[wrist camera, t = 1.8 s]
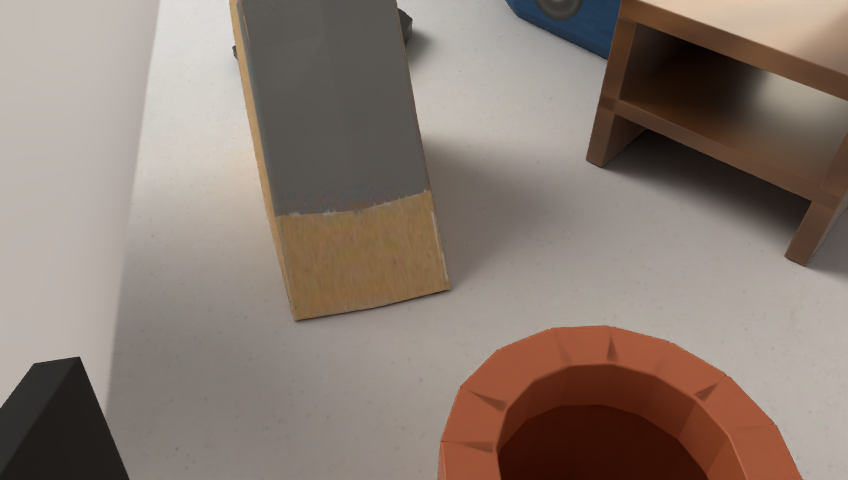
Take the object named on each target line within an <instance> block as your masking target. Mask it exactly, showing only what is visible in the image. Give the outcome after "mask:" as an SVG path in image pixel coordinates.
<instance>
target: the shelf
mask: <svg viewBox="0 0 848 480" xmlns="http://www.w3.org/2000/svg"><path fill="white" fill-rule="evenodd" d="M646 128H648V129H650V130H653V131H655V132H657V133H659V134H662V135H664V136H666V137H668V138H671V139H673V140H675V141H677V142H680V143H682V144H684V145H686V146H689V147H691V148H693V149H695V150H698V151H700V152H702V153H704V154H707V155H709V156H711V157H713V158H716V159H718V160H720V161H722V162H725V163H727V164H729V165H731V166H734V167H736V168H738V169H740V170H743V171H745V172H747V173H749V174H752V175H754V176H756V177H758V178H761V179H763V180H765V181H767V182H770V183H772V184H774V185H776V186H779V187H781V188H783V189H785V190H788V191H790V192H792V193H794V194H797V195H799V196H801V197H803V198H806V199H808V200H810V201H812V202H811V204H810V206H809V208H808V210H807V212H806V214H805V216H804V218H803V220H802V222H801V224H800V226H799V228H798V230H797V232H796V234H795V236H794V238H793V240H792V242H791V244H790V246H789V248H788V250H787V252H786V253H785V257H786V258H788V259H790V260H792V261H794V262H797V263H799V264H801V265H803V266H806V265H807V264H808V262H809V261H810V259H811V258H812V256H813V255H814V254H815V252H816V251H817V249H818V248H819V246H820V245H821V243H822V242H823V241H824V239H825V238H826V236H827V235H828V233H829V232H830V230H831V229H832V227H833V226H834V225H835V223H836V222H837V220H838V219H839V217H840V216H841V214H842V213H843V212H844V210H845V209H846V207H847V206H848V0H621V4H620V9H619V13H618V18H617V22H616V27H615V31H614V36H613V40H612V44H611V49H610V53H609V58H608V62H607V67H606V71H605V76H604V80H603V85H602V89H601V94H600V98H599V103H598V107H597V112H596V116H595V121H594V125H593V129H592V134H591V138H590V143H589V147H588V152H587V156H586V160H587V161H589V162H591V163H593V164H595V165H597V166H599V167H603V166H604V165H605V164H606V163H607V162H609V161H610V160H611V159H612V158H613V157H614V156H615V155H617V154H618V153H619V152H620V151H621V150H622V149H623V148H625V147H626V146H627V145H628V144H629V143H630V142H631V141H633V140H634V139H635V138H636V137H637V136H638V135H639V134H640V133H642V132H643V131H644V130H645V129H646Z"/></svg>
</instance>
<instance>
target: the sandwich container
mask: <svg viewBox="0 0 848 480" xmlns="http://www.w3.org/2000/svg"><path fill="white" fill-rule="evenodd" d="M229 4H230V11H231V18H232V26H233V33H234V39H235V45H236V51H237V57H238V63H239V69H240V75H241V81H242V87H243V92H244V98H245V104H246V109H247V114H248V119H249V124H250V129H251V134H252V140H253V145H254V150H255V155H256V160H257V165H258V170H259V175H260V181H261V186H262V191H263V196H264V201H265V207H266V210H267V214H268V218H269V222H270V226H271V230H272V234H273V238H274V242H275V246H276V250H277V254H278V258H279V262H280V266H281V270H282V274H283V278H284V282H285V286H286V290H287V294H288V298H289V302H290V306H291V310H292V313H293V317H294V321H297V320H301V319H307V318H313V317H319V316H325V315H331V314H337V313H344V312H350V311H356V310H362V309H368V308H374V307H379V306H383V305H387V304H391V303H395V302H399V301H403V300H407V299H411V298H415V297H419V296H423V295H427V294H431V293H435V292H439V291H443V290H450V284H449V279H448V274H447V269H446V264H445V259H444V254H443V249H442V244H441V239H440V233H439V228H438V223H437V218H436V213H435V208H434V203H433V198H432V193H431V187H430V182H429V177H428V172H427V167H426V161H425V156H424V151H423V146H422V141H421V135H420V130H419V125H418V120H417V114H416V108H415V102H414V96H413V90H412V84H411V78H410V73H409V68H408V62H407V57H406V51H405V46H404V41H403V35H402V30H401V24H400V19H399V13H398V8H397V2H396V0H229Z"/></svg>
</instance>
